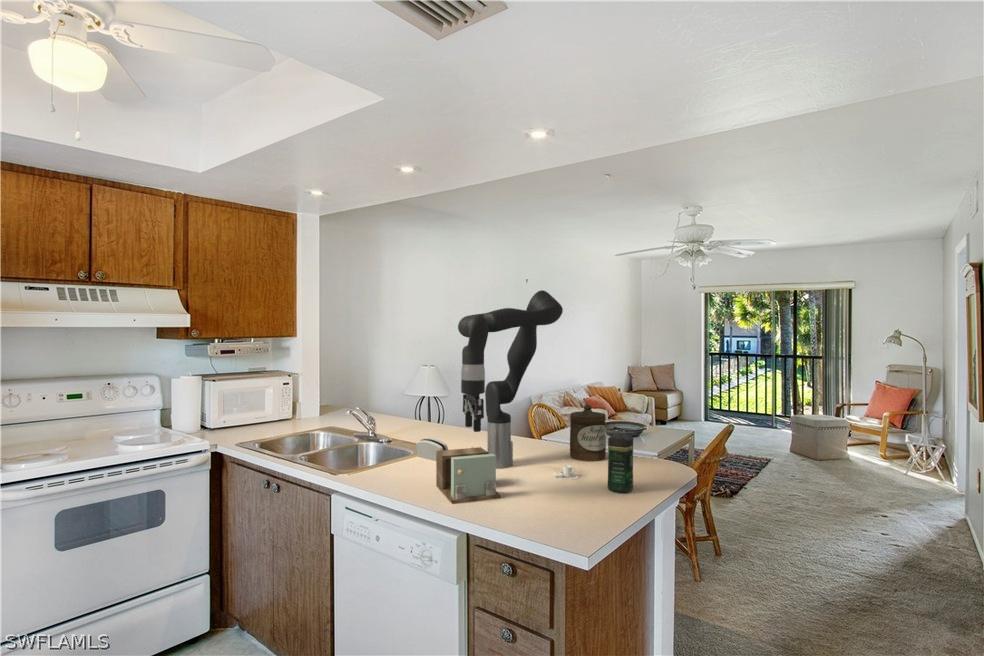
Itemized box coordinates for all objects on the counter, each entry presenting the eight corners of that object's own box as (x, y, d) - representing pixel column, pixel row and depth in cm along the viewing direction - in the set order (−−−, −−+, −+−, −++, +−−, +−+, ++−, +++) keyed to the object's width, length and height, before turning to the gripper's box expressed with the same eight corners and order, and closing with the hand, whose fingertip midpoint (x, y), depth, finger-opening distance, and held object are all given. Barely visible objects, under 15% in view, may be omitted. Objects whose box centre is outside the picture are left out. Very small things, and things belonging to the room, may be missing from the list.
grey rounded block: (454, 461, 213) (449, 439, 210) (447, 467, 209) (441, 445, 207) (426, 454, 223) (420, 433, 221) (418, 460, 220) (412, 439, 217)
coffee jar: (629, 495, 169) (629, 437, 169) (605, 491, 172) (605, 435, 172) (635, 487, 177) (635, 432, 177) (612, 484, 181) (612, 430, 181)
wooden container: (582, 462, 210) (582, 408, 210) (563, 454, 223) (563, 403, 223) (613, 459, 216) (613, 406, 216) (592, 451, 229) (592, 401, 229)
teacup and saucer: (552, 479, 188) (552, 468, 188) (557, 473, 195) (557, 462, 195) (576, 481, 185) (576, 470, 185) (580, 475, 192) (580, 464, 192)
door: (492, 490, 170) (492, 453, 170) (497, 494, 166) (497, 456, 166) (451, 495, 165) (451, 457, 165) (454, 499, 161) (454, 460, 161)
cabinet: (480, 481, 184) (480, 447, 184) (500, 497, 166) (500, 460, 166) (436, 486, 178) (436, 450, 178) (452, 503, 160) (452, 464, 160)
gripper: (491, 380, 161) (491, 432, 161) (477, 376, 174) (476, 424, 174) (468, 380, 158) (468, 434, 158) (455, 376, 172) (455, 426, 172)
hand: (472, 429), depth 166 cm, fingers open, 8 cm apart
